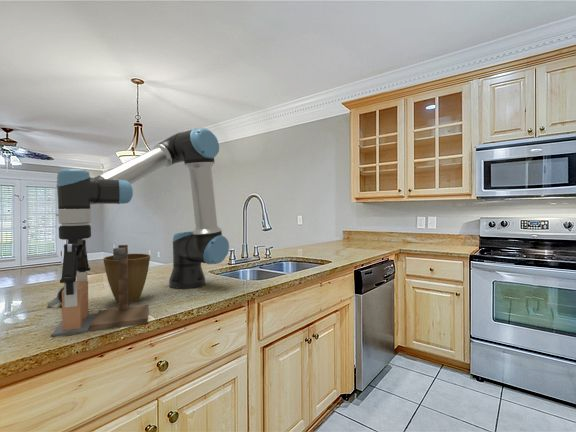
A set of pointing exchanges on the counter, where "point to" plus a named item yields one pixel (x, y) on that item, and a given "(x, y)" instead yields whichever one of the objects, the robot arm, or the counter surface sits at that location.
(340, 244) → the counter surface
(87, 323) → the mat
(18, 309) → the counter surface
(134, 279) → the plant pot
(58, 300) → the ceramic mug
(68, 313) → the orange notched block
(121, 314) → the hook stand
